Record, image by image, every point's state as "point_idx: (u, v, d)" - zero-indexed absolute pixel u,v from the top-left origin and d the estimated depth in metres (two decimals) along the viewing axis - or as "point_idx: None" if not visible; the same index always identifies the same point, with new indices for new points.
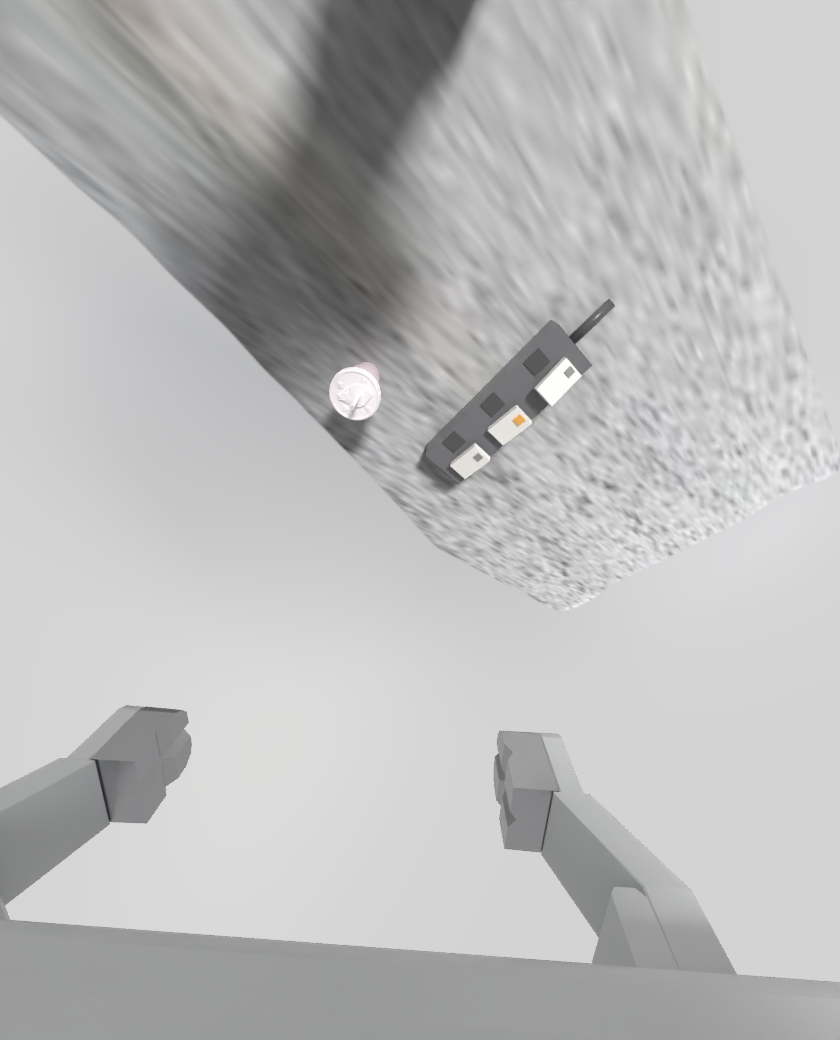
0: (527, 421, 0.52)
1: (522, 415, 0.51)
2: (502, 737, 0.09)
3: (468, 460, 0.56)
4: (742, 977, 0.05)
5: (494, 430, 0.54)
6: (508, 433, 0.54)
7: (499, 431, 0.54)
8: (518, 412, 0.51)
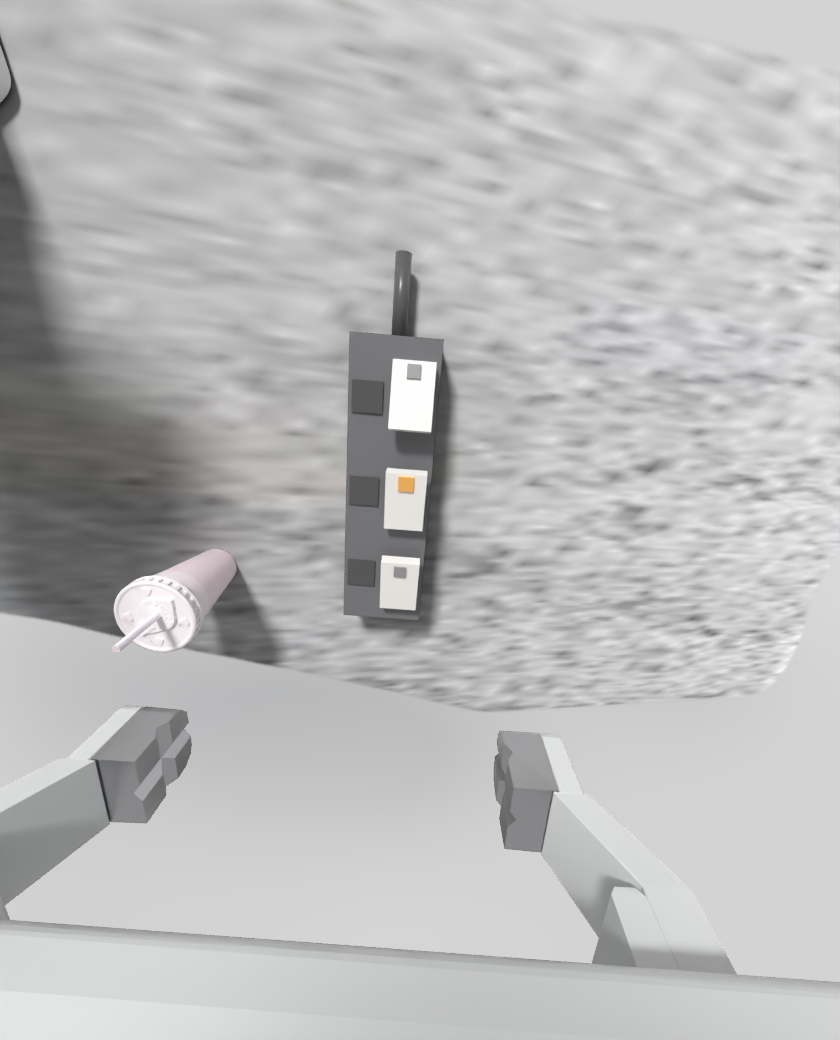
0: (418, 477, 0.30)
1: (403, 475, 0.30)
2: (502, 737, 0.09)
3: (393, 584, 0.33)
4: (742, 977, 0.05)
5: (391, 521, 0.32)
6: (412, 511, 0.31)
7: (398, 517, 0.31)
8: (394, 476, 0.30)
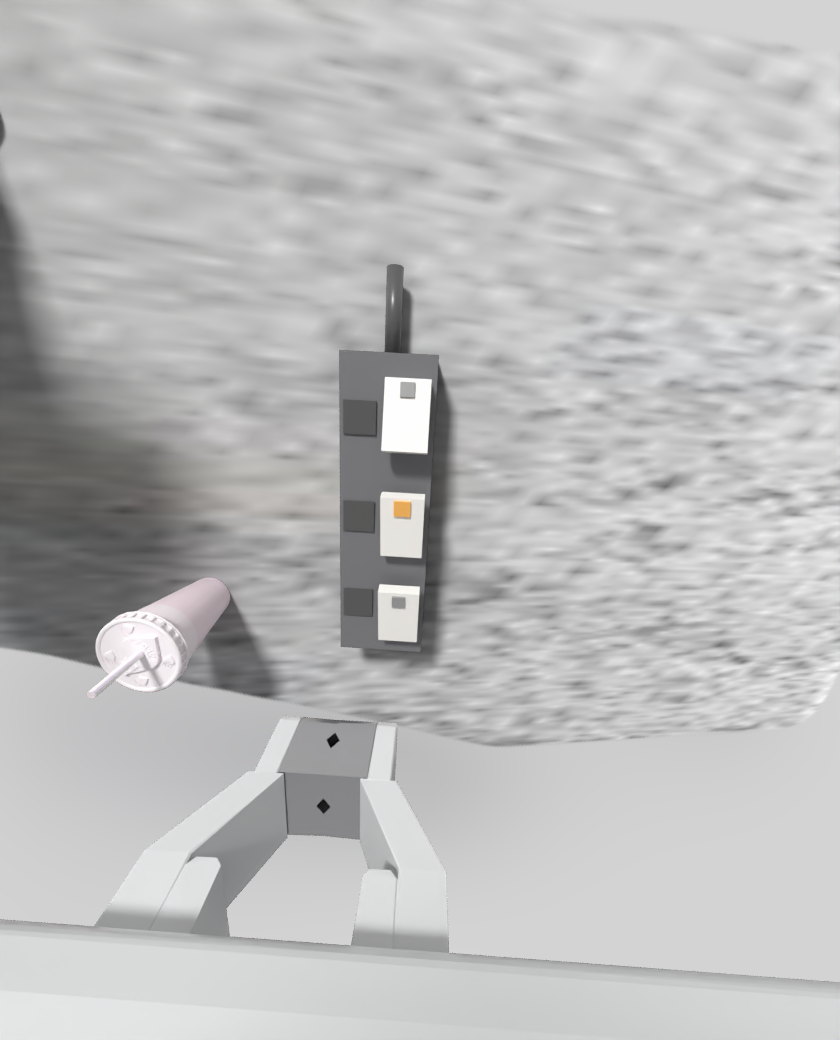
0: (414, 501, 0.28)
1: (399, 499, 0.28)
2: (338, 726, 0.09)
3: (391, 615, 0.31)
4: (742, 977, 0.05)
5: (387, 548, 0.30)
6: (409, 537, 0.29)
7: (395, 544, 0.29)
8: (389, 501, 0.28)
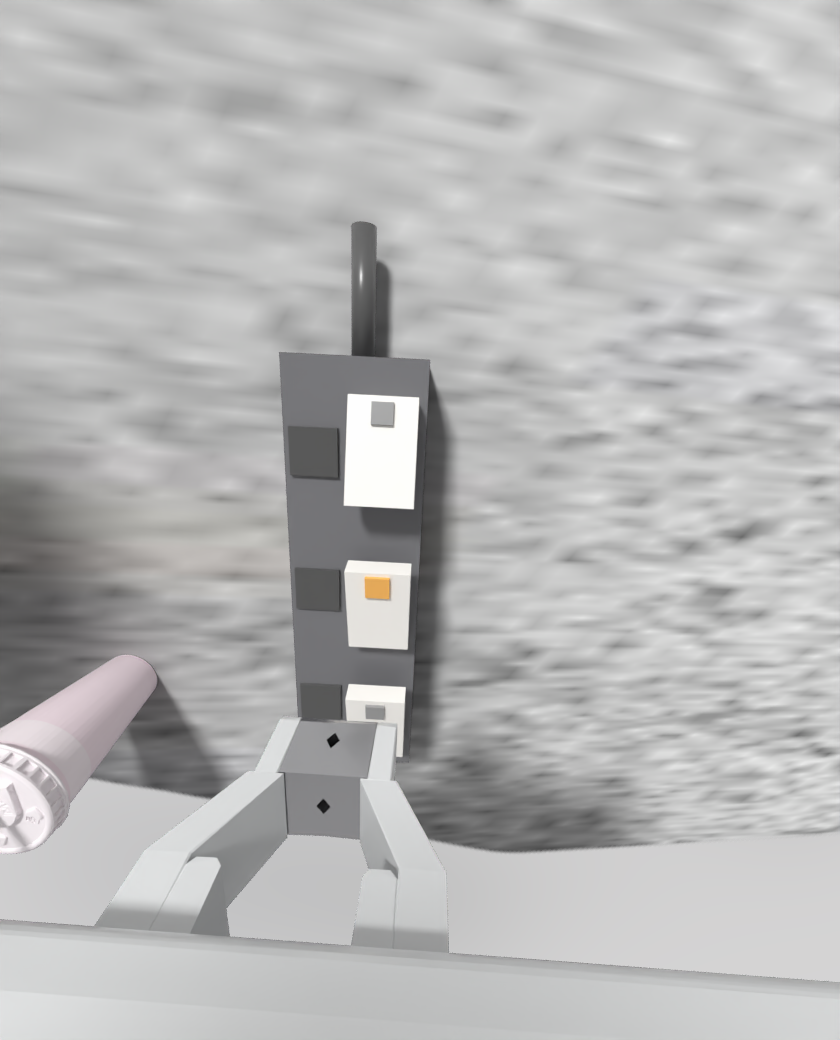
0: (396, 577, 0.19)
1: (372, 575, 0.19)
2: (338, 726, 0.09)
3: None
4: (742, 977, 0.05)
5: (359, 637, 0.21)
6: (390, 623, 0.20)
7: (369, 632, 0.20)
8: (358, 577, 0.19)
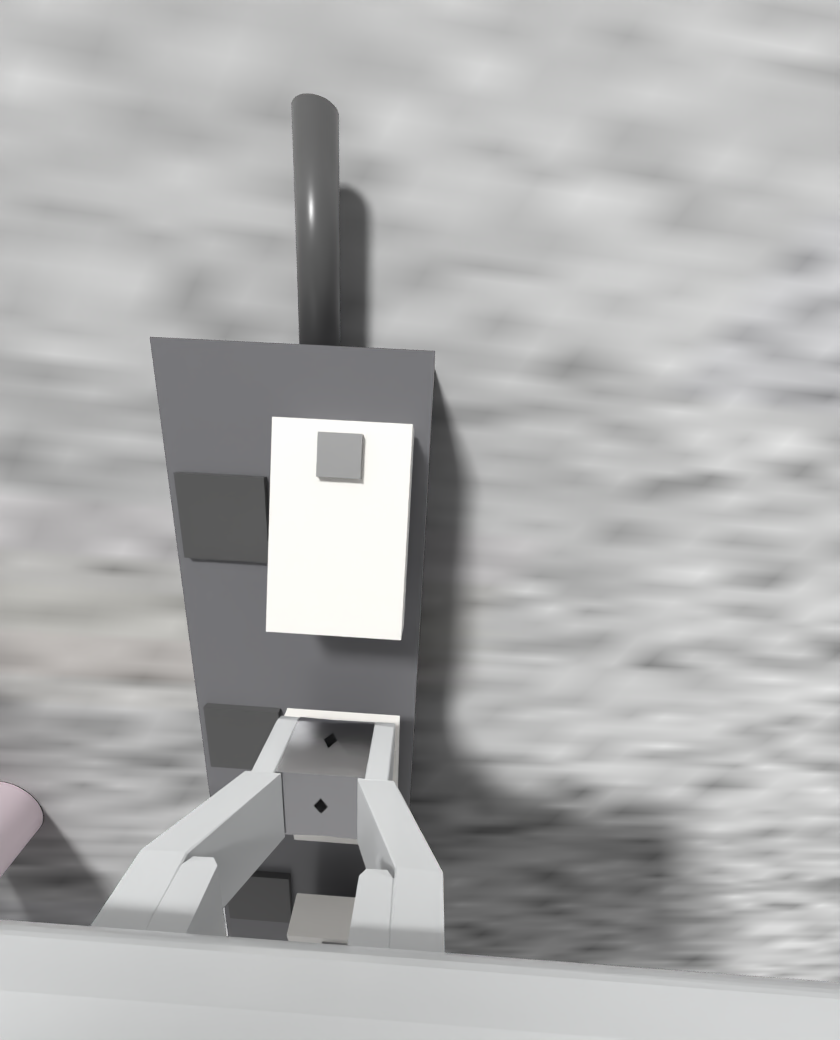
0: None
1: None
2: (335, 726, 0.09)
3: None
4: (742, 977, 0.05)
5: None
6: None
7: None
8: None
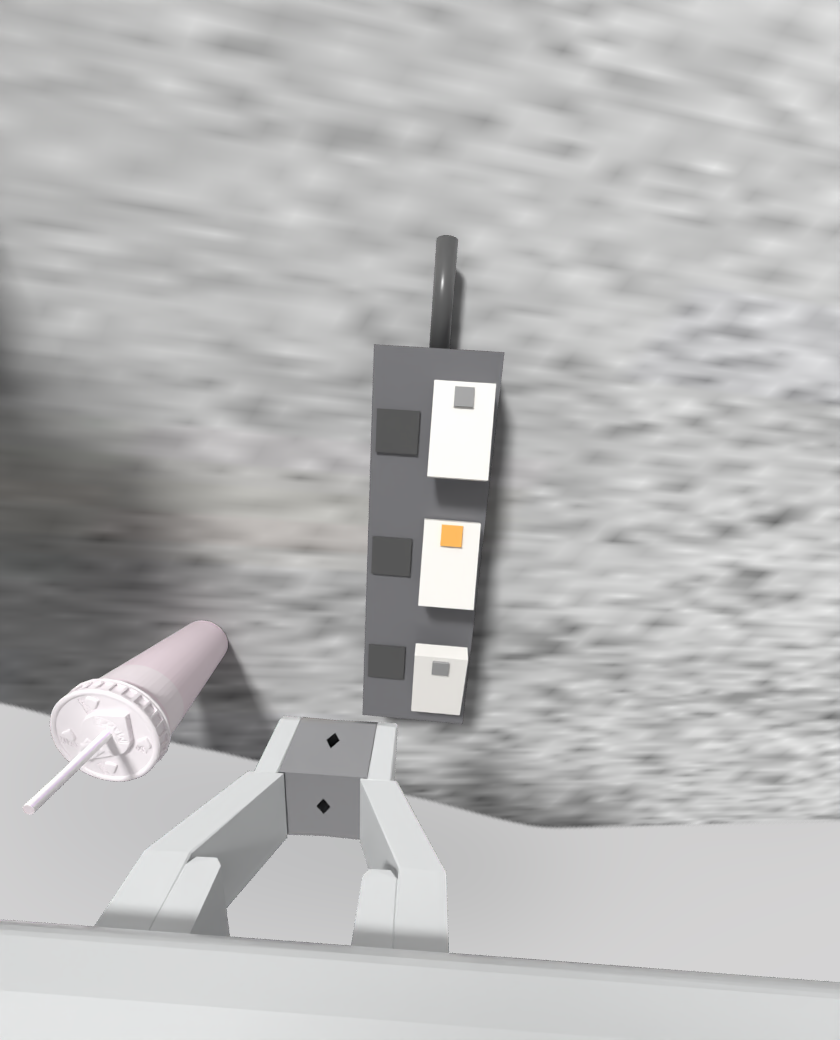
0: (468, 525, 0.22)
1: (448, 523, 0.22)
2: (338, 726, 0.09)
3: (430, 683, 0.24)
4: (742, 977, 0.05)
5: (429, 594, 0.22)
6: (459, 577, 0.22)
7: (439, 588, 0.22)
8: (436, 525, 0.22)
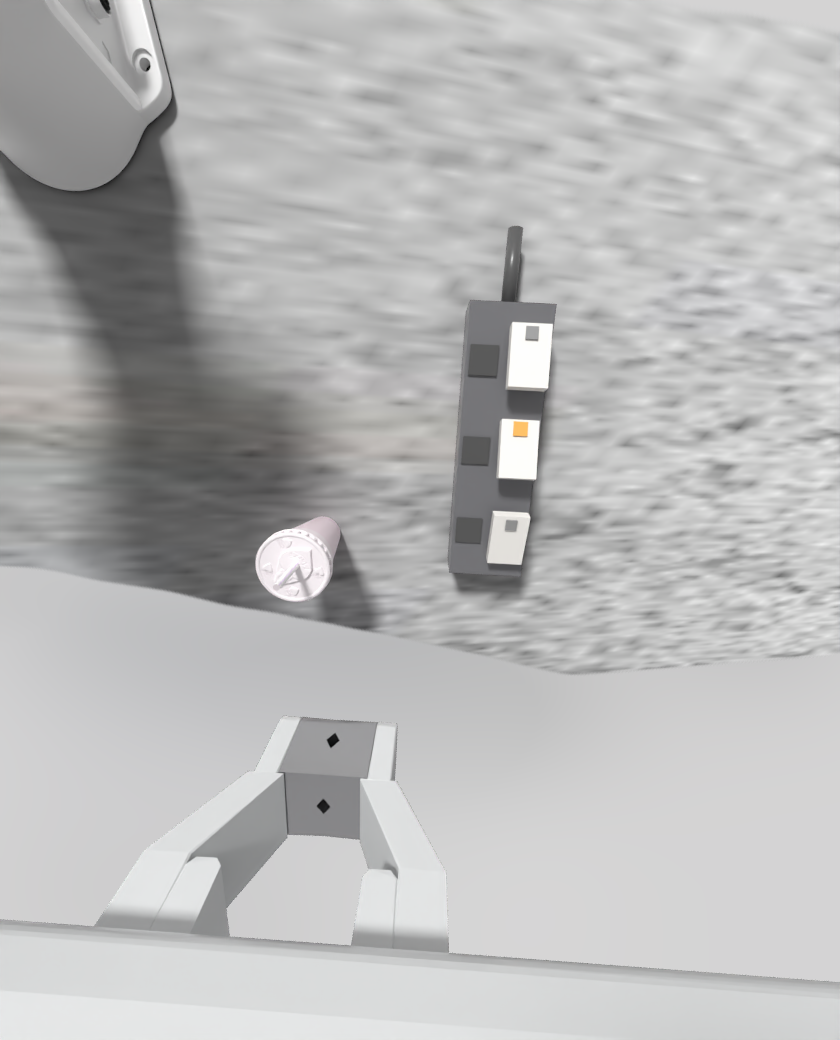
0: (531, 422, 0.33)
1: (518, 420, 0.33)
2: (338, 726, 0.09)
3: (503, 538, 0.35)
4: (742, 977, 0.05)
5: (505, 469, 0.33)
6: (526, 457, 0.33)
7: (512, 465, 0.33)
8: (509, 422, 0.33)
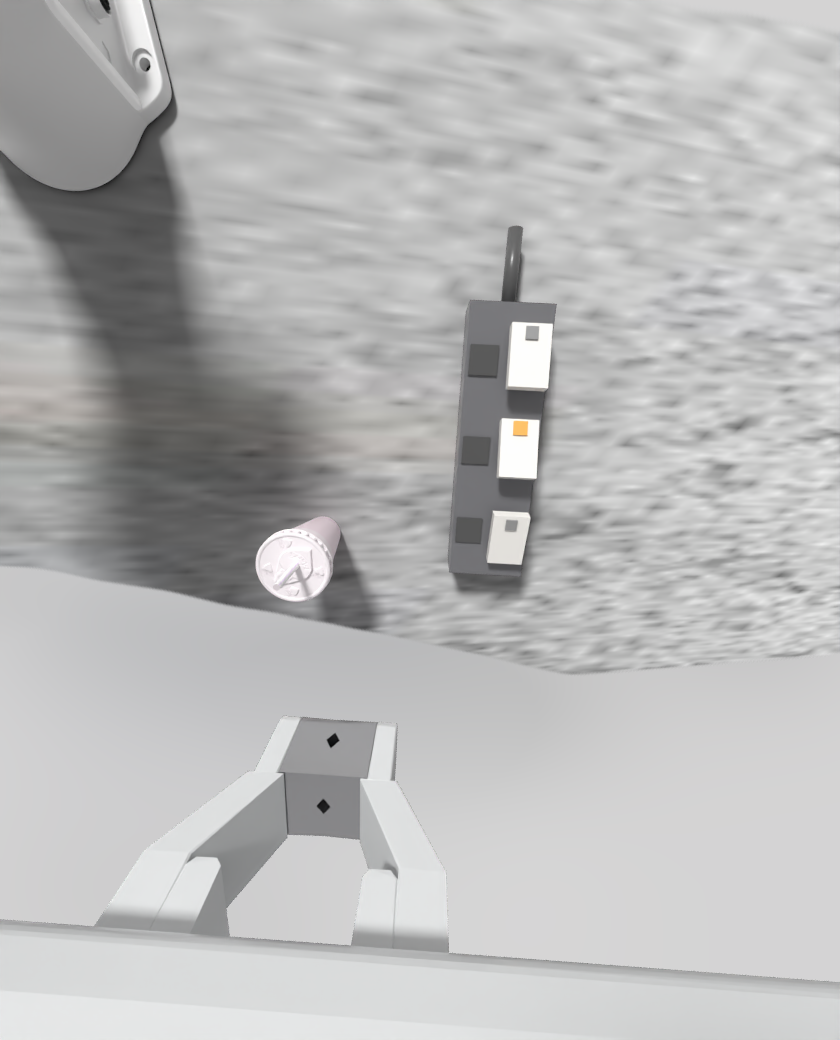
0: (531, 421, 0.33)
1: (518, 420, 0.33)
2: (338, 726, 0.09)
3: (503, 538, 0.35)
4: (742, 977, 0.05)
5: (506, 468, 0.33)
6: (526, 456, 0.33)
7: (513, 464, 0.33)
8: (509, 421, 0.33)
